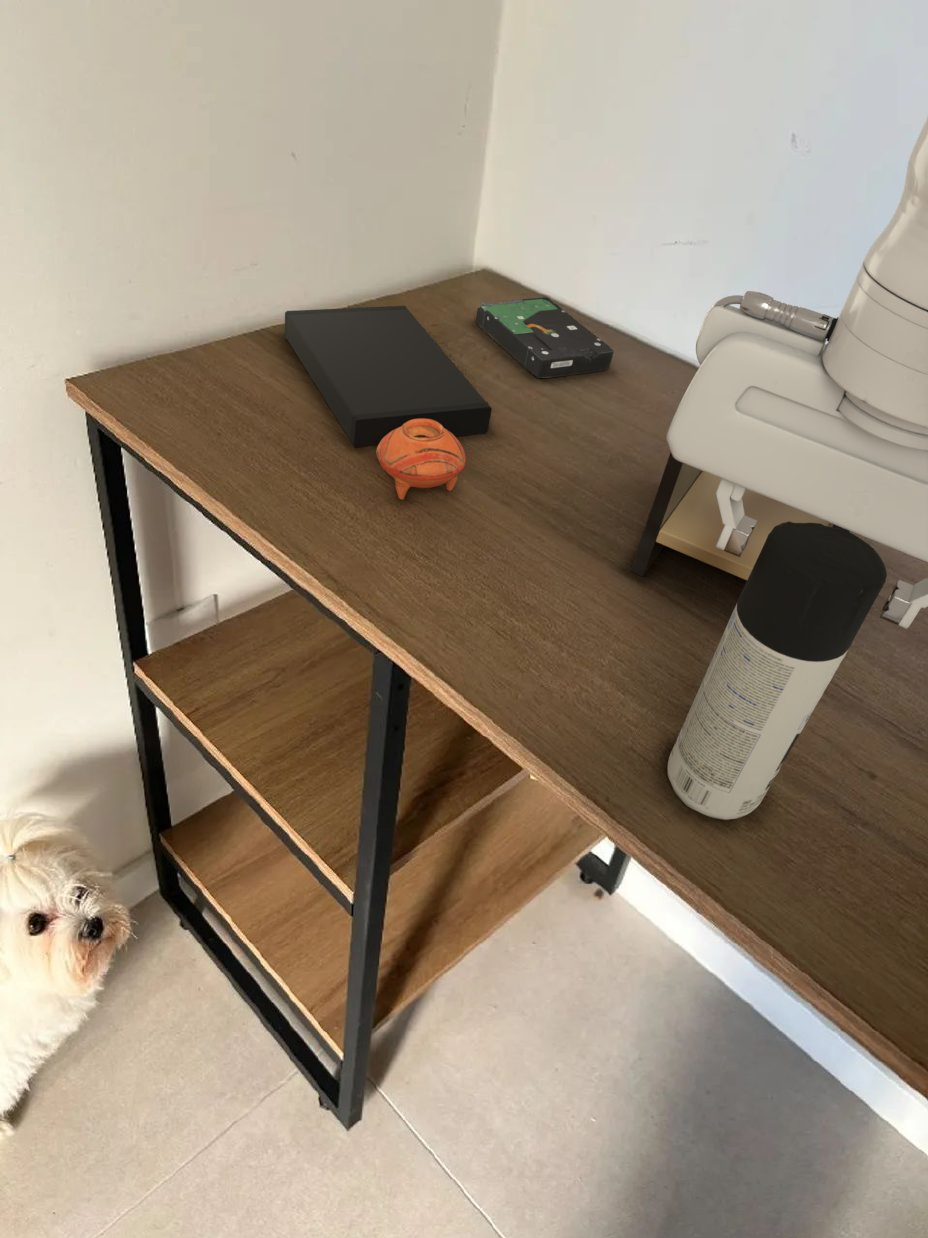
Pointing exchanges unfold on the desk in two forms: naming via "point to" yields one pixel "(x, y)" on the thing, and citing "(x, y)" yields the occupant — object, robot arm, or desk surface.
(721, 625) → the desk surface
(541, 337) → the disk drive
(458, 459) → the pot
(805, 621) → the spray can
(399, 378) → the external hard drive
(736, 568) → the shelf
